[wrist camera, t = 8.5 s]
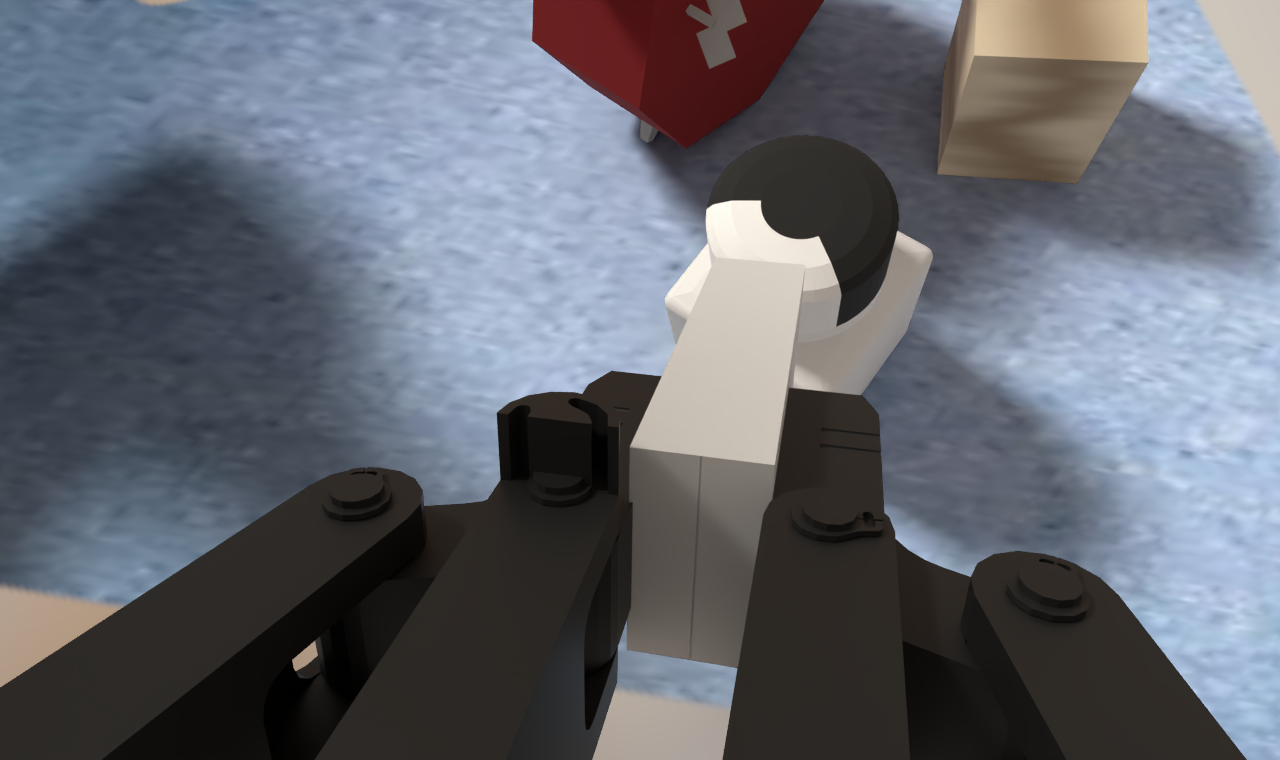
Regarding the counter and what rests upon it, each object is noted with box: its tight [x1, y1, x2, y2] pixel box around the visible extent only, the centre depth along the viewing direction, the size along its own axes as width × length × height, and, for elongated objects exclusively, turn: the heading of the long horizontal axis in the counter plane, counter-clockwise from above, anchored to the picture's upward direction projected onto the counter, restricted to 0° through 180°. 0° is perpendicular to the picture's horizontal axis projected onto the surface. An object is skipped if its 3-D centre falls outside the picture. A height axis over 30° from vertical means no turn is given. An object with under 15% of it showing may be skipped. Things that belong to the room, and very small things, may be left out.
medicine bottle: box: [665, 135, 933, 395], centre depth 33 cm, size 7×7×12 cm
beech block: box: [937, 0, 1148, 183], centre depth 37 cm, size 6×6×8 cm
